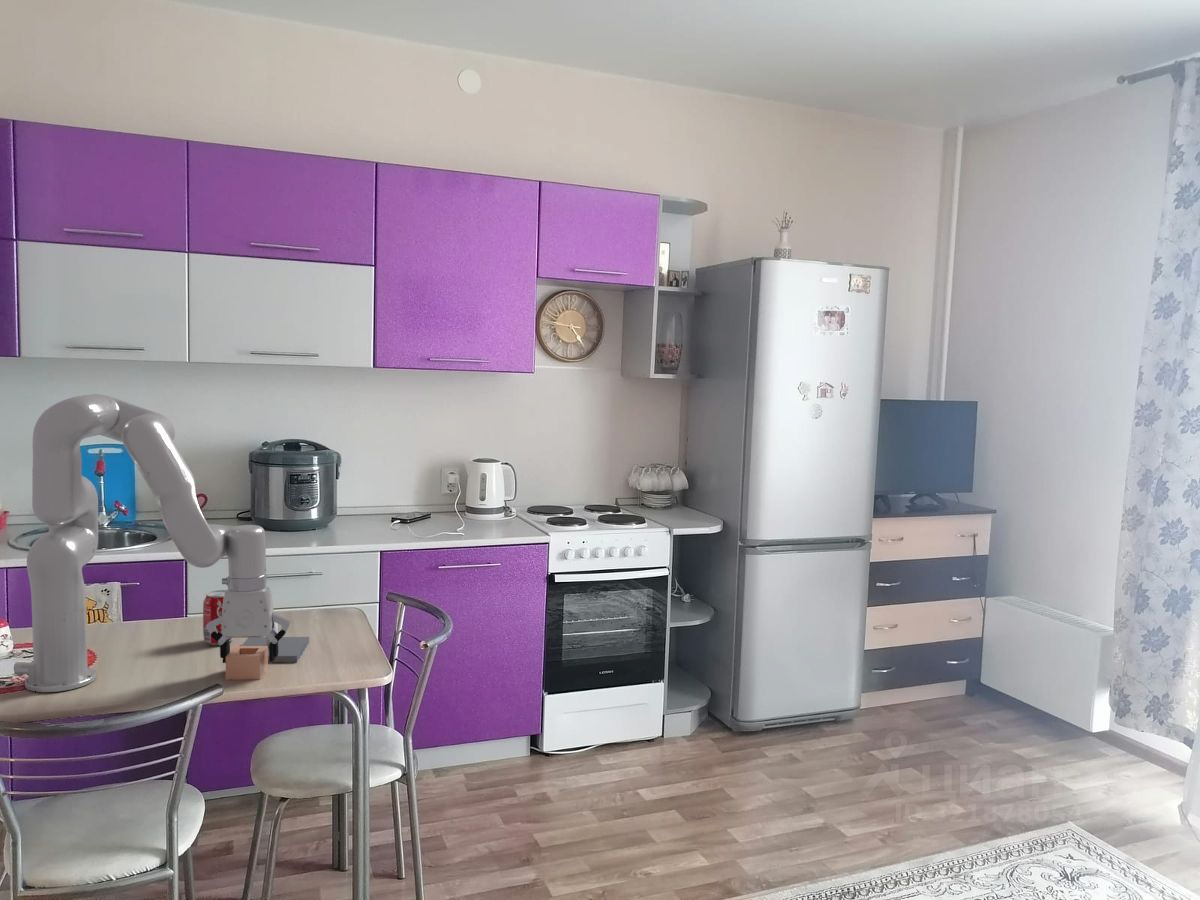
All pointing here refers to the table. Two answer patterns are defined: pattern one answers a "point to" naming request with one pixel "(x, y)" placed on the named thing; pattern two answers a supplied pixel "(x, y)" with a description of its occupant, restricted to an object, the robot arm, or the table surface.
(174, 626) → the table surface
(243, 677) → the collar
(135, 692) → the table surface
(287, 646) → the post stand
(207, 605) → the soda can
